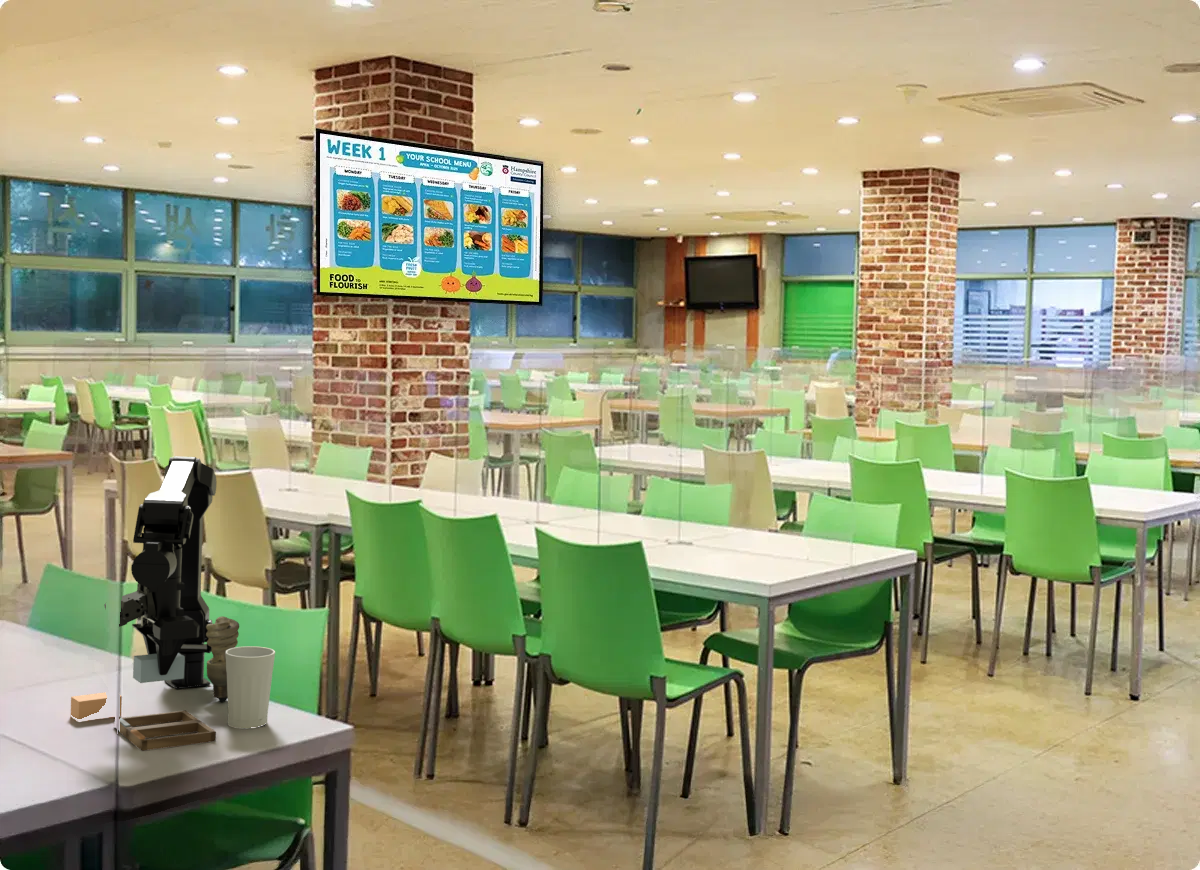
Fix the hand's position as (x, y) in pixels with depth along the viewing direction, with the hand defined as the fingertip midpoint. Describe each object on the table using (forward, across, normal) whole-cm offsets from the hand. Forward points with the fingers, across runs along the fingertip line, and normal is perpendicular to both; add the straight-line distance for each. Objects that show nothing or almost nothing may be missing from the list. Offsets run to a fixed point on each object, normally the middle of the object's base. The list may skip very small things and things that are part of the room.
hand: (158, 672), depth 216 cm
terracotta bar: (+10, -11, -6) cm, 16 cm away
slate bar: (+1, 0, 0) cm, 1 cm away
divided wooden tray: (+9, +4, 0) cm, 10 cm away
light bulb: (+10, -11, +15) cm, 21 cm away
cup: (+10, +3, +14) cm, 17 cm away
